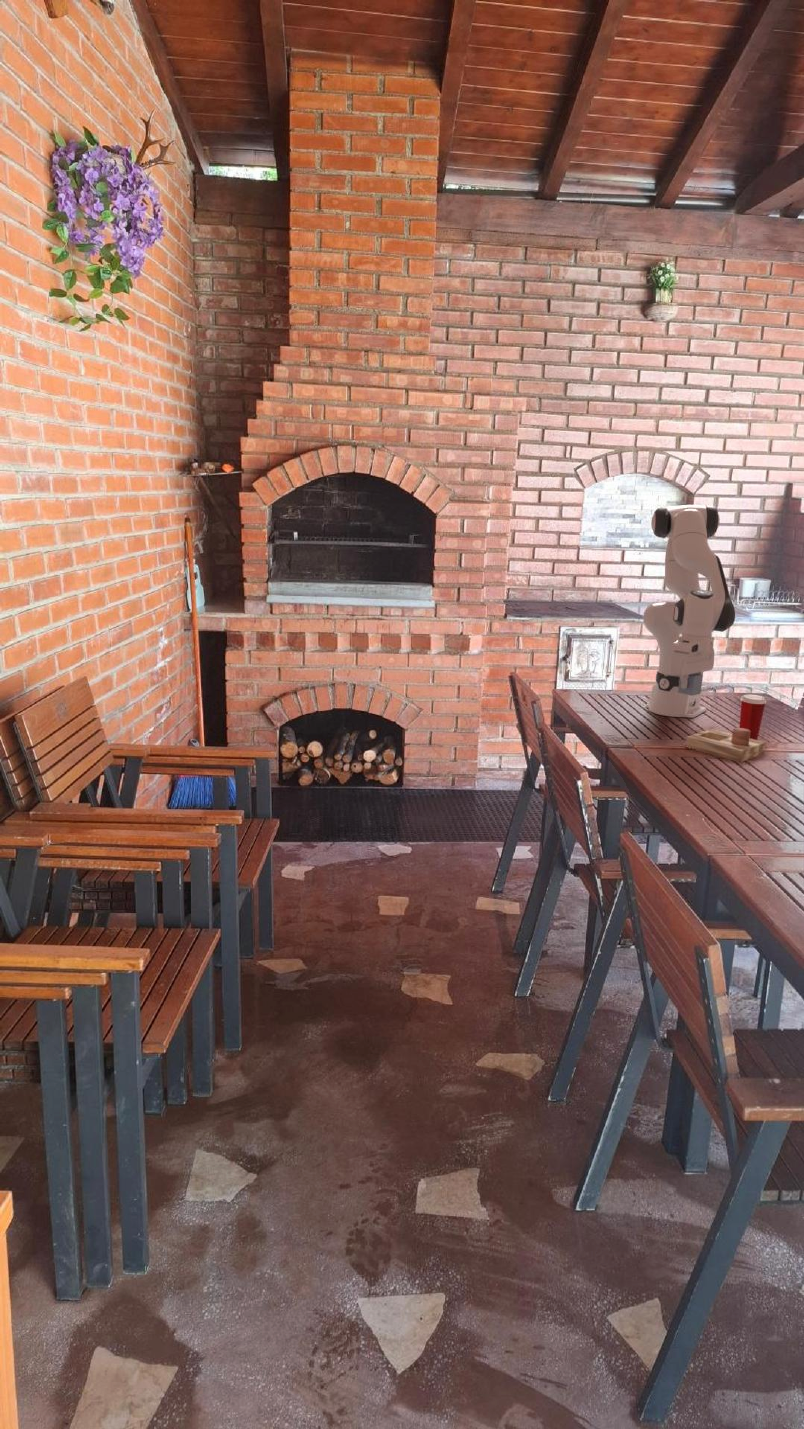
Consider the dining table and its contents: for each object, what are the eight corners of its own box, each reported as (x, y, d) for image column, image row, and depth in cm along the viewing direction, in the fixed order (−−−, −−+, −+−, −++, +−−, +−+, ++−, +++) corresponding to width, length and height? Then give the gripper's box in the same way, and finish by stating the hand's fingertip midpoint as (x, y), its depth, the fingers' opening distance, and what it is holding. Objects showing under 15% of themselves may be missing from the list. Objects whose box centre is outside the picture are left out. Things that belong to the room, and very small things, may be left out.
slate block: (686, 690, 290) (688, 671, 288) (700, 693, 286) (703, 674, 284) (677, 692, 286) (680, 673, 285) (692, 695, 283) (694, 676, 281)
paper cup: (761, 738, 296) (767, 696, 292) (759, 743, 289) (766, 701, 285) (736, 734, 299) (741, 692, 295) (733, 740, 292) (739, 697, 288)
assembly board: (710, 739, 291) (713, 716, 290) (764, 753, 279) (767, 729, 277) (685, 747, 282) (688, 724, 280) (740, 762, 269) (743, 737, 267)
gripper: (703, 638, 291) (698, 681, 295) (668, 644, 278) (663, 689, 281) (721, 642, 287) (716, 684, 290) (687, 648, 273) (681, 693, 277)
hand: (689, 687), depth 286 cm, fingers closed on slate block, 5 cm apart
